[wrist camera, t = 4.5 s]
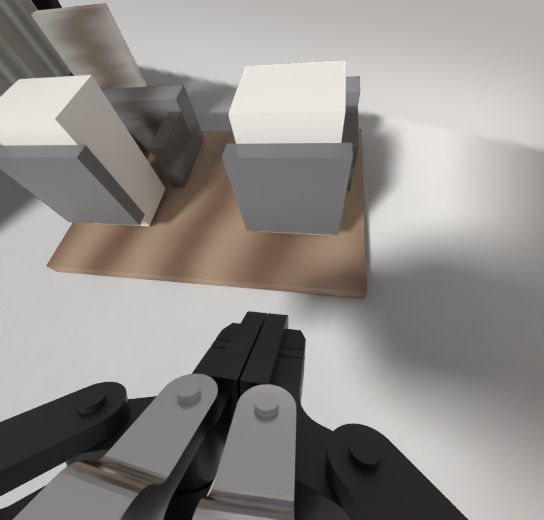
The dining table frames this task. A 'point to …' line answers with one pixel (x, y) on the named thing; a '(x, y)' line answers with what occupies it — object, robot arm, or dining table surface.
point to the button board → (195, 187)
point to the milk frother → (26, 44)
